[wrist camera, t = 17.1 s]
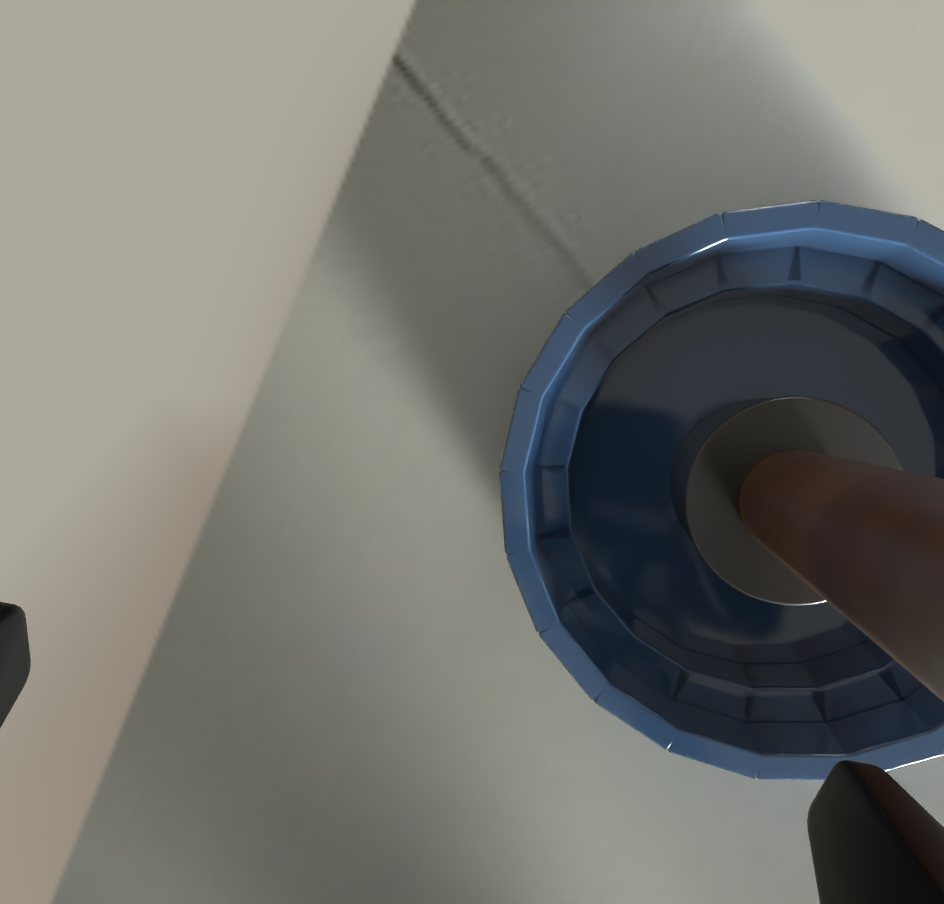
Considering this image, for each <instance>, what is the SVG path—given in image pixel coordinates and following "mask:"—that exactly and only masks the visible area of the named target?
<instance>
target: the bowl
mask: <svg viewBox="0 0 944 904" xmlns="http://www.w3.org/2000/svg"><path fill="white" fill-rule="evenodd" d="M793 396H803V397H812V398H819V399H823V400H827V401H831V402H834V403H836V404H839V405H842V406H844V407H846V408H848V409H850V410H852V411H854V412H856V413H857V414H859V415H860V416H862V417H863V418H865V419H866V420H867V421H869V422H870V423H871V424H872V425H873V426H874V427H875V428H876V429H878V430H879V431H880V433H881V434H882V435H883V436H884V437H885V439H886V440H887V441H888V442H889V444H890V445H891V447H892V449H893V450H894V452H895V454H896V456H897V458H898V460H899V462H900V465H901V467H902V470H903V471H908V472H913V473H917V474H922V475H927V476H932V477H937V478H942V479H944V231H943V230H941V229H939V228H937V227H935V226H933V225H931V224H929V223H928V222H926V221H924V220H922V219H918V220H917V218H916V217H913V216H907V215H902V214H896V213H890V212H885V211H879V210H873V209H868V208H862V207H856V206H851V205H845V204H840V203H834V202H828V201H823V200H822V201H819V202H818V201H815V200H814V201H806V202H798V203H790V204H782V205H774V206H766V207H759V208H751V209H743V210H735V211H727V212H723V213H721V214H715V215H713V216H711V217H709V218H707V219H704V220H702V221H700V222H698V223H695V224H693V225H691V226H689V227H687V228H684V229H682V230H680V231H678V232H675V233H673V234H671V235H669V236H667V237H664V238H662V239H660V240H658V241H655V242H653V243H651V244H649V245H647V246H644V247H642V248H640V249H638V250H636V251H635V253H631V254H630V255H629V256H627V257H626V258H625V259H624V260H623V261H622V262H621V263H619V264H618V265H617V266H616V267H615V268H614V269H613V270H612V271H610V272H609V273H608V274H607V275H606V276H605V277H604V278H602V279H601V280H600V281H599V282H598V283H597V284H596V285H594V286H593V287H592V288H591V289H590V290H589V291H588V292H586V293H585V294H584V295H583V296H582V297H581V298H580V299H579V300H577V301H576V302H575V303H574V304H573V305H572V306H571V307H569V308H568V309H567V310H566V313H564V314H563V315H562V317H561V318H560V320H559V322H558V323H557V325H556V327H555V328H554V330H553V332H552V333H551V335H550V336H549V338H548V340H547V341H546V343H545V345H544V346H543V348H542V350H541V351H540V353H539V355H538V356H537V358H536V360H535V361H534V363H533V364H532V366H531V368H530V369H529V371H528V373H527V374H526V376H525V378H524V379H523V381H522V383H521V384H520V388H519V390H518V392H517V397H516V401H515V405H514V409H513V413H512V417H511V422H510V426H509V430H508V434H507V438H506V442H505V447H504V451H503V455H502V459H501V463H500V470H501V471H500V472H499V480H500V493H501V506H502V519H503V532H504V545H505V552H506V554H507V555H506V558H507V560H508V563H509V565H510V568H511V570H512V573H513V575H514V577H515V580H516V582H517V585H518V587H519V590H520V592H521V595H522V597H523V600H524V602H525V605H526V607H527V610H528V612H529V614H530V617H531V619H532V622H533V624H534V627H535V629H536V631H537V632H539V636H540V638H541V639H542V640H543V641H544V642H545V644H546V645H547V646H548V647H549V649H550V650H551V651H552V652H553V653H554V655H555V656H556V657H557V658H558V660H559V661H560V662H561V663H562V664H563V666H564V667H565V668H566V669H567V670H568V672H569V673H570V674H571V675H572V677H573V678H574V679H575V680H576V681H577V683H578V684H579V685H580V686H581V688H582V689H583V690H584V691H585V692H586V694H587V695H588V696H589V697H590V698H591V699H592V700H593V699H594V702H595V703H596V704H598V705H599V706H601V707H602V708H604V709H605V710H607V711H608V712H610V713H611V714H613V715H614V716H616V717H617V718H619V719H620V720H622V721H623V722H625V723H626V724H628V725H629V726H631V727H632V728H634V729H635V730H636V731H638V732H639V733H641V734H642V735H644V736H645V737H647V738H648V739H650V740H651V741H653V742H654V743H656V744H657V745H659V746H660V747H662V748H663V749H665V750H668V751H669V752H671V753H674V754H677V755H680V756H683V757H686V758H690V759H693V760H696V761H699V762H702V763H705V764H709V765H712V766H715V767H718V768H721V769H725V770H728V771H731V772H734V773H737V774H740V775H744V776H747V777H750V778H753V779H756V777H757V778H758V779H770V780H823V781H825V780H826V779H827V777H828V775H829V773H830V772H831V770H832V768H833V767H834V766H835V764H837V763H838V762H840V761H842V760H850V761H855V762H860V763H866V764H871V765H875V766H877V767H880V768H881V769H883V770H884V771H885V772H887V771H890V770H894V769H897V768H901V767H904V766H908V765H912V764H915V763H919V762H922V761H926V760H929V759H933V758H937V757H940V756H943V755H944V702H943V701H942V700H941V699H939V698H938V697H937V696H936V695H935V694H934V693H932V692H931V691H930V690H929V689H928V688H927V687H926V686H924V685H923V684H922V683H921V682H920V681H919V680H917V679H916V678H915V677H914V676H913V675H912V674H910V673H909V672H908V671H907V670H906V669H905V668H904V667H902V666H901V665H900V664H899V663H898V662H897V661H895V660H894V659H893V658H892V657H891V656H890V655H889V654H887V653H886V652H885V651H884V650H883V649H882V648H880V647H879V646H878V645H877V644H876V643H875V642H873V641H872V640H871V639H870V638H869V637H868V636H867V635H865V634H864V633H863V632H862V631H861V630H860V629H858V628H857V627H856V626H855V625H854V624H853V623H851V622H850V621H849V620H848V619H847V618H846V617H845V616H843V615H842V614H841V613H840V612H839V611H838V610H836V609H835V608H834V607H833V606H832V605H831V604H829V603H828V602H823V603H818V604H812V605H802V606H792V605H780V604H773V603H769V602H765V601H761V600H758V599H755V598H753V597H750V596H748V595H746V594H744V593H742V592H740V591H738V590H736V589H735V588H733V587H731V586H730V585H729V584H727V583H726V582H725V581H723V580H722V579H721V578H720V577H719V576H718V575H717V574H716V573H715V572H714V571H713V570H711V568H710V567H709V566H708V565H707V563H706V562H705V561H704V560H703V558H702V557H701V555H700V554H699V552H698V551H697V549H696V548H695V546H694V545H693V543H692V542H691V540H690V539H689V537H688V535H687V534H686V532H685V531H684V529H683V527H682V526H681V524H680V522H679V520H678V518H677V515H676V513H675V509H674V506H673V502H672V495H671V476H672V469H673V465H674V461H675V458H676V456H677V453H678V451H679V448H680V447H681V445H682V443H683V441H684V440H685V438H686V437H687V436H688V434H689V433H690V432H691V430H692V429H693V428H694V427H695V426H696V425H697V424H698V423H699V422H700V421H702V420H703V419H704V418H705V417H707V416H708V415H709V414H711V413H713V412H715V411H716V410H718V409H720V408H722V407H724V406H727V405H729V404H732V403H735V402H739V401H743V400H749V399H758V398H773V397H793Z"/></svg>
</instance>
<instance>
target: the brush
mask: <svg viewBox="0 0 944 904" xmlns="http://www.w3.org/2000/svg"><path fill="white" fill-rule="evenodd" d="M671 495H672V502H673V506H674V509H675V513H676V515H677V518H678V520H679V522H680V524H681V526H682V527H683V529H684V531H685V532H686V534H687V535H688V537H689V539H690V540H691V542H692V543H693V545H694V546H695V548H696V549H697V551H698V552H699V554H700V555H701V557H702V558H703V560H704V561H705V562H706V563H707V565H708V566H709V567H710V568H711V570H713V571H714V572H715V573H716V574H717V575H718V576H719V577H720V578H721V579H722V580H723V581H725V582H726V583H727V584H729V585H730V586H731V587H733V588H735V589H736V590H738V591H740V592H742V593H744V594H746V595H748V596H750V597H753V598H755V599H758V600H761V601H765V602H769V603H773V604H780V605H792V606H802V605H812V604H818V603H823V602H828V603H829V604H831V605H832V606H833V607H834V608H835V609H836V610H838V611H839V612H840V613H841V614H842V615H843V616H845V617H846V618H847V619H848V620H849V621H850V622H851V623H853V624H854V625H855V626H856V627H857V628H858V629H860V630H861V631H862V632H863V633H864V634H865V635H867V636H868V637H869V638H870V639H871V640H872V641H873V642H875V643H876V644H877V645H878V646H879V647H880V648H882V649H883V650H884V651H885V652H886V653H887V654H889V655H890V656H891V657H892V658H893V659H894V660H895V661H897V662H898V663H899V664H900V665H901V666H902V667H904V668H905V669H906V670H907V671H908V672H909V673H910V674H912V675H913V676H914V677H915V678H916V679H917V680H919V681H920V682H921V683H922V684H923V685H924V686H926V687H927V688H928V689H929V690H930V691H931V692H932V693H934V694H935V695H936V696H937V697H938V698H939V699H941V700H942V701H943V702H944V479H942V478H937V477H932V476H927V475H922V474H917V473H913V472H908V471H903V470H902V467H901V465H900V462H899V460H898V458H897V456H896V454H895V452H894V450H893V449H892V447H891V445H890V444H889V442H888V441H887V440H886V439H885V437H884V436H883V435H882V434H881V433H880V431H879V430H878V429H876V428H875V427H874V426H873V425H872V424H871V423H870V422H869V421H867V420H866V419H865V418H863V417H862V416H860V415H859V414H857V413H856V412H854V411H852V410H850V409H848V408H846V407H844V406H842V405H839V404H836V403H834V402H831V401H827V400H823V399H819V398H812V397H803V396H793V397H773V398H758V399H749V400H743V401H739V402H735V403H732V404H729V405H727V406H724V407H722V408H720V409H718V410H716V411H715V412H713V413H711V414H709V415H708V416H707V417H705V418H704V419H703V420H702V421H700V422H699V423H698V424H697V425H696V426H695V427H694V428H693V429H692V430H691V432H690V433H689V434H688V436H687V437H686V438H685V440H684V441H683V443H682V445H681V447H680V448H679V451H678V453H677V456H676V458H675V461H674V465H673V469H672V476H671Z"/></svg>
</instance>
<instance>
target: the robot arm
mask: <svg viewBox="0 0 944 904" xmlns="http://www.w3.org/2000/svg"><path fill="white" fill-rule="evenodd" d="M29 671H30V652H29V643H28V634H27V626H26V618H25V613H24V611H23V610H22V609H21V607H19V606H17V605H14V604H9V603H3V602H0V727H1V726H2V724H3V722H4V721H5V719H6V717H7V715H8V714H9V712H10V710H11V708H12V707H13V705H14V703H15V701H16V699H17V698H18V696H19V694H20V692H21V691H22V689H23V687H24V685H25V683H26V681H27V678H28V675H29ZM807 823H808V834H809V840H810V846H811V852H812V858H813V864H814V870H815V876H816V882H817V887H818V893H819V899H820V904H944V827H943V826H942V825H941V824H940V823H939V822H938V821H937V820H935V819H934V818H933V817H932V816H931V815H930V814H929V813H928V812H927V811H926V810H925V809H924V808H923V807H922V806H921V805H920V804H919V803H918V802H917V801H916V800H915V799H914V798H913V797H911V796H910V795H909V794H908V793H907V792H906V791H905V790H904V789H903V788H902V787H901V786H900V785H899V784H898V783H897V782H896V781H895V780H894V779H893V778H892V777H891V776H890V775H889V774H887V773H886V772H885V771H884V770H883V769H881V768H880V767H877V766H875V765H871V764H866V763H860V762H855V761H850V760H842V761H840V762H838V763H837V764H835V766H834V767H833V768H832V770H831V772H830V773H829V775H828V777H827V779H826V780H825V782H824V784H823V785H822V787H821V789H820V791H819V792H818V794H817V796H816V797H815V799H814V801H813V802H812V804H811V806H810V809H809V813H808V820H807Z"/></svg>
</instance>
